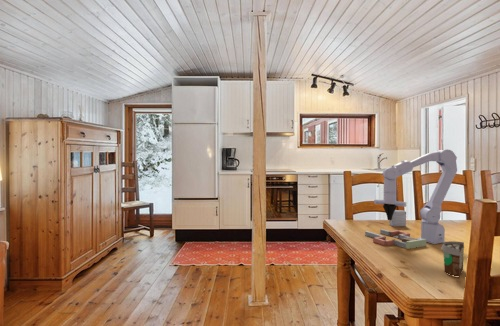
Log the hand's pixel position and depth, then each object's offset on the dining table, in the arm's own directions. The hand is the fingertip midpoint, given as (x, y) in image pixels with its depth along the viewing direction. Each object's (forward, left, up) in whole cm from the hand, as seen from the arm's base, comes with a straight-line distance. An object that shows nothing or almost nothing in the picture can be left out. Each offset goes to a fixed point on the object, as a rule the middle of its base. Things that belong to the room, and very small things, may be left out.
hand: (389, 219), depth 159 cm
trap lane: (-3, 0, -9) cm, 10 cm away
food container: (-42, +15, -10) cm, 46 cm away
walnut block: (-11, -1, -10) cm, 15 cm away
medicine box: (+20, -27, -10) cm, 35 cm away
